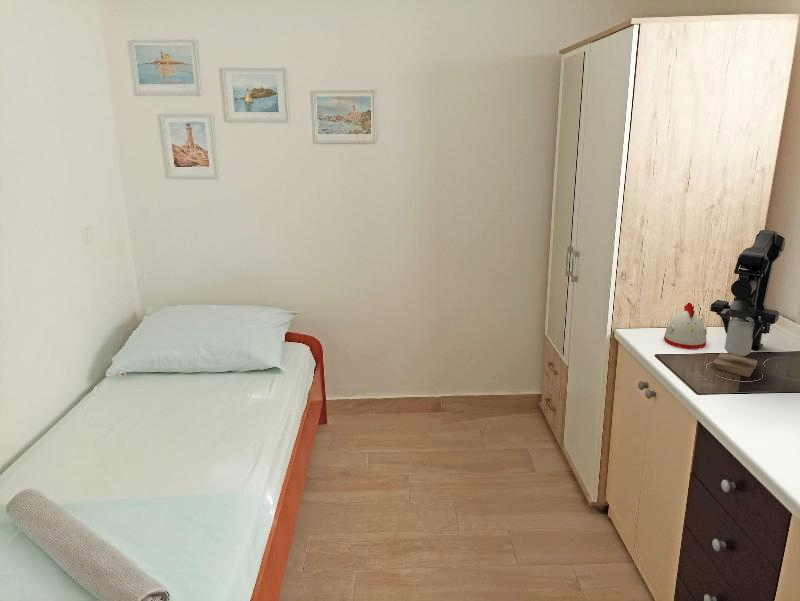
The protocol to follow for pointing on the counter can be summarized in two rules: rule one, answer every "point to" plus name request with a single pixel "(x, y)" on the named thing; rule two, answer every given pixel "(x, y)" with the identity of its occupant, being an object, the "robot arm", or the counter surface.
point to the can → (739, 336)
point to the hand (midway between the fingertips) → (739, 336)
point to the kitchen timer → (686, 330)
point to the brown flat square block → (735, 364)
